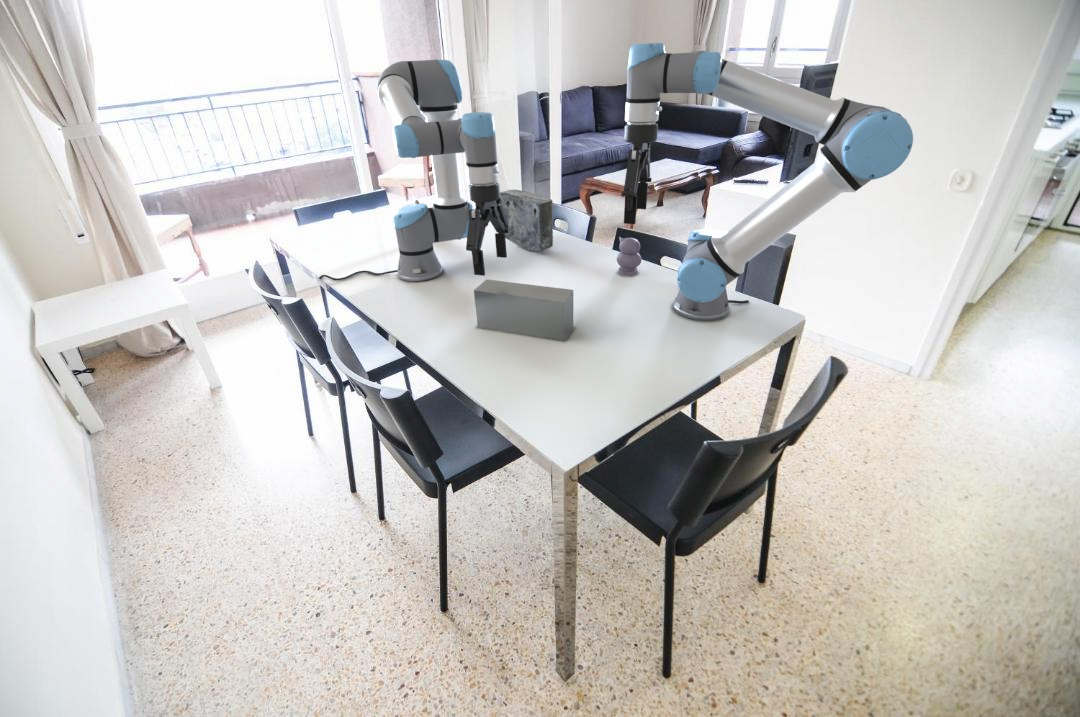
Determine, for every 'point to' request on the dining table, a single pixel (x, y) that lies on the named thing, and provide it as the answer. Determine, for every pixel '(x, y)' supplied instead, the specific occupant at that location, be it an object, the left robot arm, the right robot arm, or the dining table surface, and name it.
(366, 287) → the dining table surface
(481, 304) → the box
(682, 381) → the dining table surface
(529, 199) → the concrete block
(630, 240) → the cat figurine
